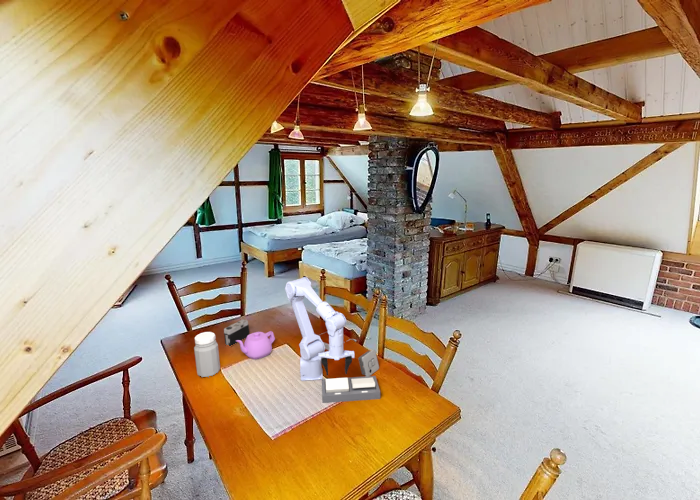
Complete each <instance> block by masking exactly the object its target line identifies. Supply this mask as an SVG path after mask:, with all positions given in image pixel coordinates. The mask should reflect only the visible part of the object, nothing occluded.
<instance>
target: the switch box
mask: <svg viewBox="0 0 700 500" xmlns="http://www.w3.org/2000/svg"><path fill="white" fill-rule="evenodd" d="M347 378H348V385H349V391H347V392H332V393H326V379H327V378H323V379H321V398H322V401H321V402H322V404H323V403H324V404H325V403H326V404H328V403H329V404H330V403H340V402H341V403H342V402H354V401H355V402H356V401H368V400H369V401H370V400H381V389H380V386H379V383H378V380H377V376H376V375H371V376H366V375H365V376H353V377H347ZM358 378H373V379H374V382H375V387H365V388H353V387H352V383H351V379H358Z"/></svg>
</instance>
